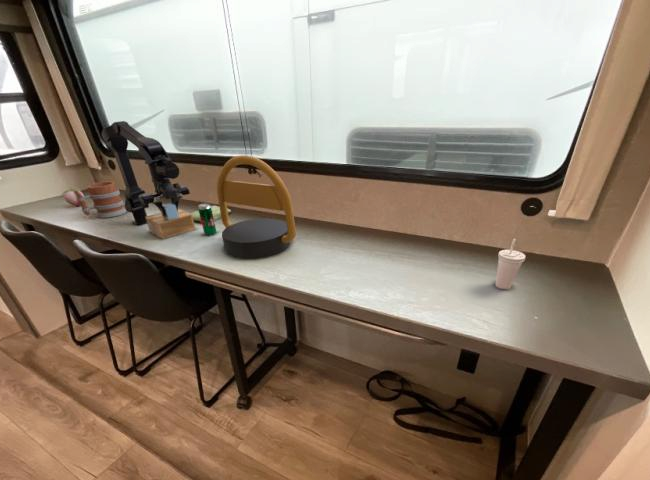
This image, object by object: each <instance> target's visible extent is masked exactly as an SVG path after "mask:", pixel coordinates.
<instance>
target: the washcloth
mask: <svg viewBox="0 0 650 480" xmlns="http://www.w3.org/2000/svg"><path fill="white" fill-rule="evenodd" d="M210 206H211V209H212V214H213V218H214V221H215V220H218V219H221V212H220V207H219V205H218V206H217V205H210ZM227 211H228V214H230V213H231V212H232V210H231V209H229V208H227ZM189 214H191V215H192V217H193V221H194V222H200V223H201V219H200V215H199V211H198V210H196V211H193V212H191V213H189Z"/></svg>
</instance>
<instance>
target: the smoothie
mask: <svg viewBox="0 0 650 480" xmlns="http://www.w3.org/2000/svg"><path fill="white" fill-rule="evenodd" d="M515 243H516V238H513V239H512V242H511V246H510V249H502V250H500V251H499V252H498V253H497V254H498V255H497V258H498V261H497V270H496V279H495V287H496V288H498V289H501V290H509V289H511V287H512V285H513V283H514V280H515V279H516V276H517V274H518V272H519V270H520V268H521V266H522V264H523V263H524V262H525V260H526V254H525V253H523V252H521V251H520V250H514V247H515Z"/></svg>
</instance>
